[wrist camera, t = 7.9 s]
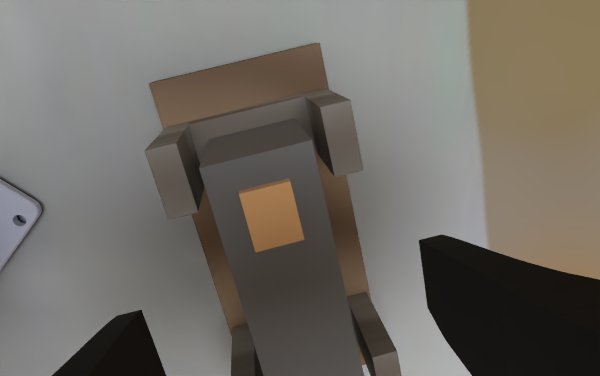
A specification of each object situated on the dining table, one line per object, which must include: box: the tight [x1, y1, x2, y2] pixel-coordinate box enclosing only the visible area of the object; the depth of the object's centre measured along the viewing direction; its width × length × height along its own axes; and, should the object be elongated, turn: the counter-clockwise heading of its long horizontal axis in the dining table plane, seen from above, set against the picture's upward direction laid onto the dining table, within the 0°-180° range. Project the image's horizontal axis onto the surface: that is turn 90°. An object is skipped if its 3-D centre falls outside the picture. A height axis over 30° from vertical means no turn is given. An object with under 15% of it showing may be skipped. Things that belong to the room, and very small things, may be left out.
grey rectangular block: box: [199, 118, 364, 376], centre depth 17 cm, size 12×4×5 cm, turn 13°
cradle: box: [145, 43, 401, 376], centre depth 19 cm, size 16×7×6 cm, turn 13°
